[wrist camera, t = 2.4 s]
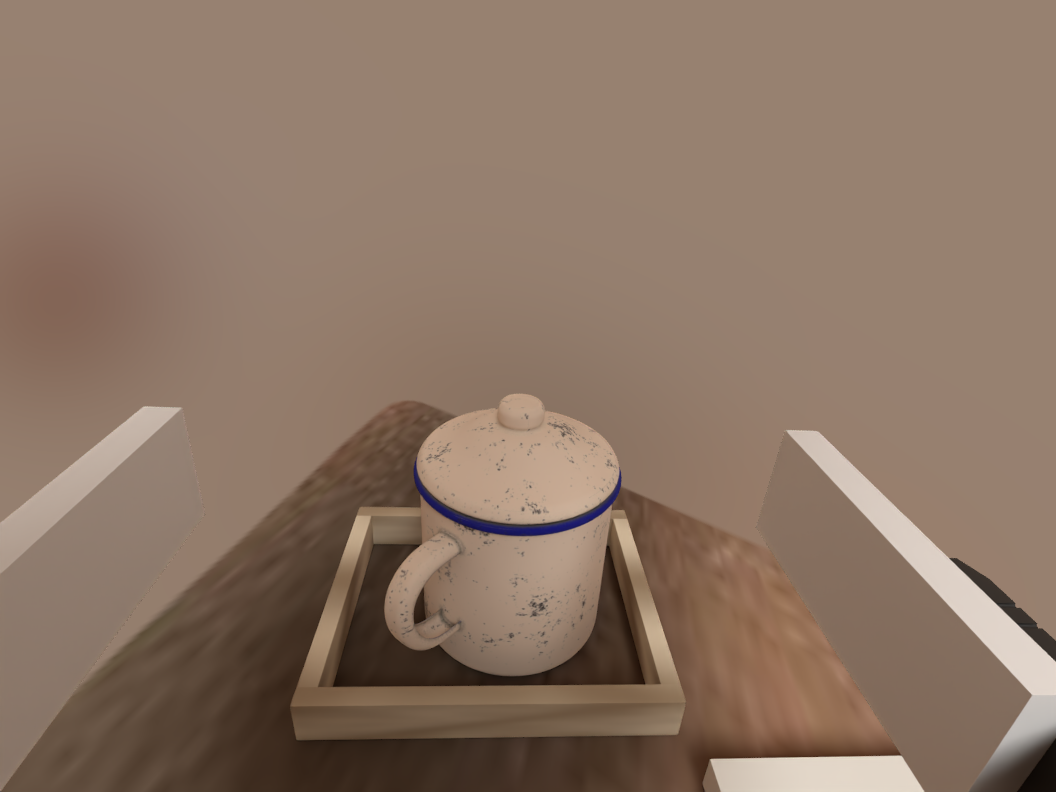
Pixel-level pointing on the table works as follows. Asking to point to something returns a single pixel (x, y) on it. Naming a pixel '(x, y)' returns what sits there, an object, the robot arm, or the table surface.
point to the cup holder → (481, 707)
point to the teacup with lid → (507, 539)
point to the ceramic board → (811, 775)
